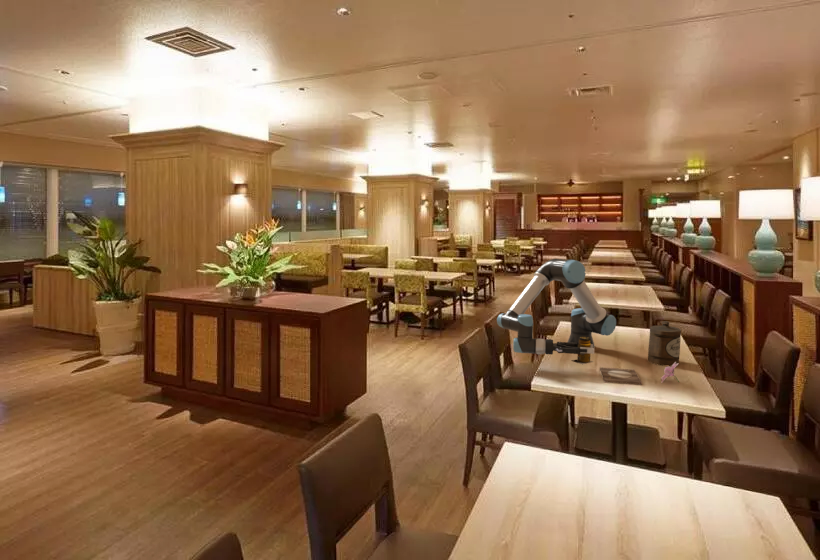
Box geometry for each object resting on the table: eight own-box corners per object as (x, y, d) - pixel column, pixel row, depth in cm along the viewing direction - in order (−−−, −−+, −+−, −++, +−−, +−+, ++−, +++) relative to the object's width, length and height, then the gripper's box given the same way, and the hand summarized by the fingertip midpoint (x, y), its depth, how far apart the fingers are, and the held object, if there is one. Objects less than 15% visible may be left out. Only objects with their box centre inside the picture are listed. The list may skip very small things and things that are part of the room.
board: (599, 369, 261) (599, 366, 261) (633, 371, 257) (634, 369, 257) (604, 382, 242) (604, 379, 241) (641, 384, 238) (641, 381, 238)
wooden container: (674, 367, 264) (677, 325, 261) (644, 362, 273) (646, 321, 270) (682, 361, 275) (684, 320, 272) (652, 356, 284) (654, 317, 282)
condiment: (594, 361, 255) (594, 338, 254) (582, 364, 251) (583, 340, 249) (582, 358, 261) (582, 335, 260) (570, 361, 257) (571, 337, 255)
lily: (667, 378, 250) (657, 361, 249) (691, 374, 241) (682, 356, 241) (660, 392, 242) (650, 374, 241) (685, 388, 233) (675, 370, 232)
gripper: (544, 348, 270) (591, 351, 264) (544, 359, 251) (595, 361, 246) (544, 334, 269) (591, 336, 263) (545, 344, 250) (595, 346, 245)
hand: (593, 348), depth 254 cm, fingers closed on condiment, 6 cm apart
